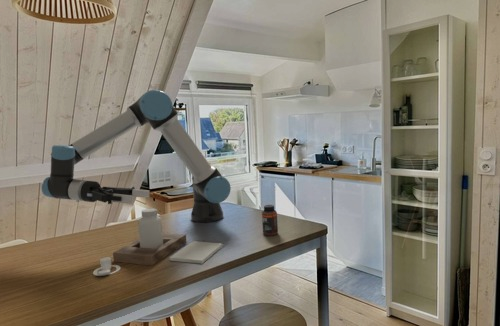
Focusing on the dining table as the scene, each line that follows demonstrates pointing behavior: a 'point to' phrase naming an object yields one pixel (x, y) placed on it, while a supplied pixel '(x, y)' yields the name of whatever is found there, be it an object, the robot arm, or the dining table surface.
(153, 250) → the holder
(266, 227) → the supplement bottle
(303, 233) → the dining table surface
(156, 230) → the pill bottle
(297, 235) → the dining table surface
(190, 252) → the board
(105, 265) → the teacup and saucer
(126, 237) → the dining table surface
